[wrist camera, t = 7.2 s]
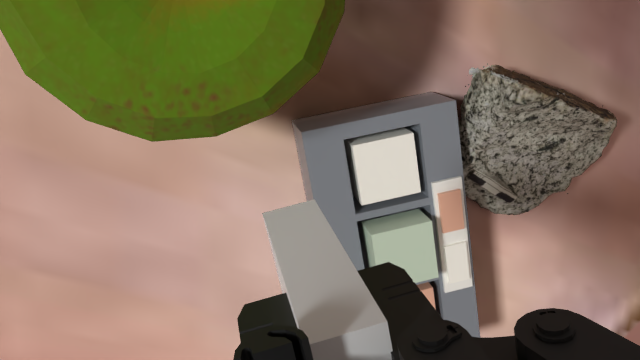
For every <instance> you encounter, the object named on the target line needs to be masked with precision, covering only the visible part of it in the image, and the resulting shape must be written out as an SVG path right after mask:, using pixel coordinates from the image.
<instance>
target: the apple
mask: <svg viewBox="0 0 640 360" xmlns="http://www.w3.org/2000/svg"><path fill="white" fill-rule="evenodd" d="M344 7H345V0H0V29H1V31H2V33H3V35H4V37H5V38H6V40H7V42H8V44H9V46H10V47H11V49H12V51H13V53H14V55H15V57H16V58H17V60H18V62H19V64H20V66H21V67H22V69H23V71H24V73H25V74H26V75H27V76H28V77H30V78H31V79H32V80H34V81H35V82H36V83H38V84H39V85H40V86H42V87H43V88H44V89H45V90H47V91H48V92H49V93H51V94H52V95H53V96H55V97H56V98H57V99H59V100H60V101H61V102H63V103H64V104H65V105H67V106H68V107H69V108H71V109H72V110H73V111H75V112H76V113H77V114H79V115H80V116H81V117H83V118H84V119H85V120H87V121H90V122H94V123H97V124H100V125H103V126H106V127H109V128H112V129H115V130H118V131H121V132H124V133H127V134H130V135H133V136H136V137H140V138H143V139H146V140H149V141H165V140H177V139H189V138H202V137H214V136H218V135H221V134H223V133H226V132H228V131H231V130H233V129H236V128H238V127H241V126H243V125H246V124H249V123H251V122H254V121H256V120H259V119H261V118H264V117H266V116H269V115H271V114H273V113H275V112H276V111H277V110H278V109H279V108H280V107H281V106H282V105H283V104H284V103H286V102H287V101H288V100H289V99H290V98H291V97H292V96H293V95H294V94H295V93H296V92H298V91H299V90H300V89H301V88H302V87H303V86H304V85H305V84H306V83H307V82H309V81H310V80H311V79H312V78H313V77H314V76H315V75H316V74H317V73H318V72H319V71H320V69H321V66H322V64H323V62H324V59H325V57H326V54H327V52H328V49H329V47H330V45H331V42H332V40H333V37H334V35H335V33H336V30H337V28H338V25H339V23H340V20H341V18H342V16H343V13H344Z"/></svg>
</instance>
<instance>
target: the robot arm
mask: <svg viewBox="0 0 640 360" xmlns="http://www.w3.org/2000/svg"><path fill="white" fill-rule="evenodd" d="M262 214H263V218H264V222H265V226H266V230H267V234H268V238H269V242H270V246H271V249H272V253H273V257H274V261H275V265H276V269H277V273H278V277H279V281H280V285H281V289H282V293H283V294H280V295H276V296H273V297H269V298H266V299H262V300H259V301H255V302H252V303H248V304H245V305H244V307H243V309H242V311H241V313H240V315H239V317H238V326H239V333H240V340H241V344H240V345H239V346H238V348H237V349H236V350H235V354H234V359H233V360H640V346H639V345H637V344H635V343H633V342H631V341H629V340H627V339H625V338H624V337H622V336H620V335H618V334H616V333H614V332H612V331H610V330H608V329H607V328H605V327H603V326H601V325H599V324H597V323H595V322H593V321H591V320H590V319H588V318H586V317H584V316H582V315H580V314H577V313H574V312H571V311H569V310H563V309H555V308H550V309H539V310H536V311H533V312H530V313H527V314H525V315H524V316H522V317H521V318H520V319H519V320H517V323H516V325H515V327H514V333H515V336H507V337H494V338H478V337H472V336H471V335H470V334H469V332H468V331H467V330H466V329H465V328H463V327H462V326H461V325H459V324H458V323H455V322H452V321H449V320H443V319H442V317H441V316H440V315H439V313H438V312H437V311H436V310H435V308H434V307H433V306H432V304H431V303H430V302H429V300H428V299H427V298H426V297H425V295H424V294H423V293H422V291H420V289H419V287H418V286H417V285H416V284H415V282H413V280H412V278H411V277H410V276H409V275H408V273H407V272H406V271H405V269H403V268H401V267H399V266H397V265H394V264H392V263H390V262H387V263H383V264H379V265H376V266H372V267H369V268H365V269H362V270H358V271H357V270H356V268H355V266H354V265H353V263H352V261H351V260H350V258H349V256H348V255H347V253H346V251H345V250H344V248H343V246H342V245H341V243H340V241H339V240H338V238H337V236H336V235H335V233H334V231H333V230H332V228H331V226H330V225H329V223H328V221H327V220H326V218H325V216H324V215H323V213H322V211H321V210H320V208H319V206H318V205H317V203H316V201H315V200H310V201H307V202H303V203H299V204H295V205H291V206H288V207H284V208H280V209H276V210H273V211H269V212H265V213H262Z"/></svg>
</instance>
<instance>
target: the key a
mask: <svg viewBox="0 0 640 360" xmlns="http://www.w3.org/2000/svg"><path fill="white" fill-rule="evenodd" d="M344 143H345V149H346V156H347V162H348V168H349V174H350V180H351V186H352V193H353V195H354V196H355V198H356V199H357V200H358V201H359V203H360V204H361V205H367V204H371V203H375V202H380V201H384V200H389V199H393V198H397V197H402V196H406V195H410V194H415V193H419V192H421V188H420V180H419V172H418V164H417V156H416V149H415V141H414V133H413V132H411V131H410V130H408V129H406V128H404V127H401V128H397V129H392V130H387V131H382V132H378V133H373V134H368V135H364V136H359V137H354V138H349V139H345V140H344Z"/></svg>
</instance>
